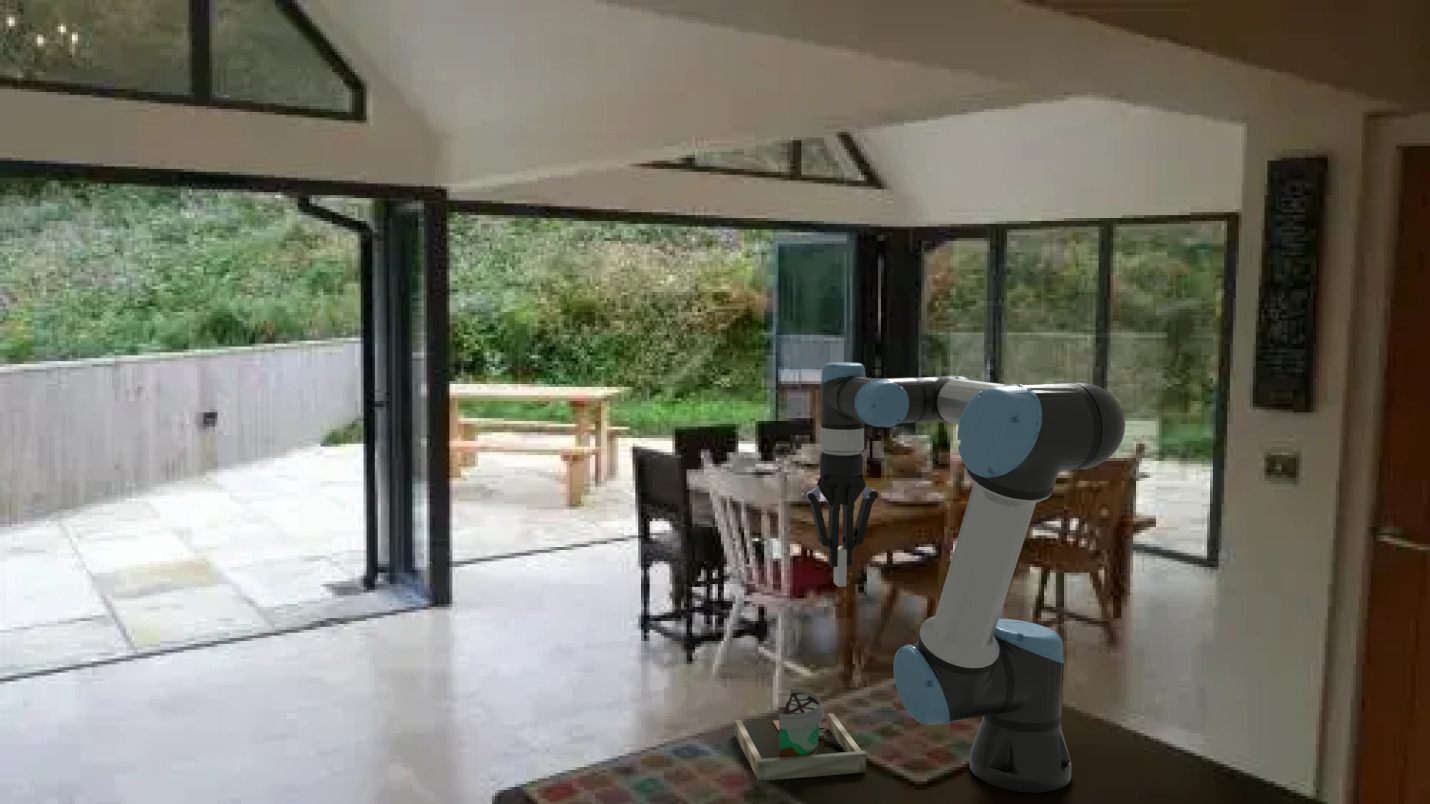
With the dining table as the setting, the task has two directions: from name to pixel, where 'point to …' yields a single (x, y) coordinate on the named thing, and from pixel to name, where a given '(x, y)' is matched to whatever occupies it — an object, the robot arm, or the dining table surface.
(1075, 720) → the dining table surface
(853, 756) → the beige u-shaped frame
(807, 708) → the food container
